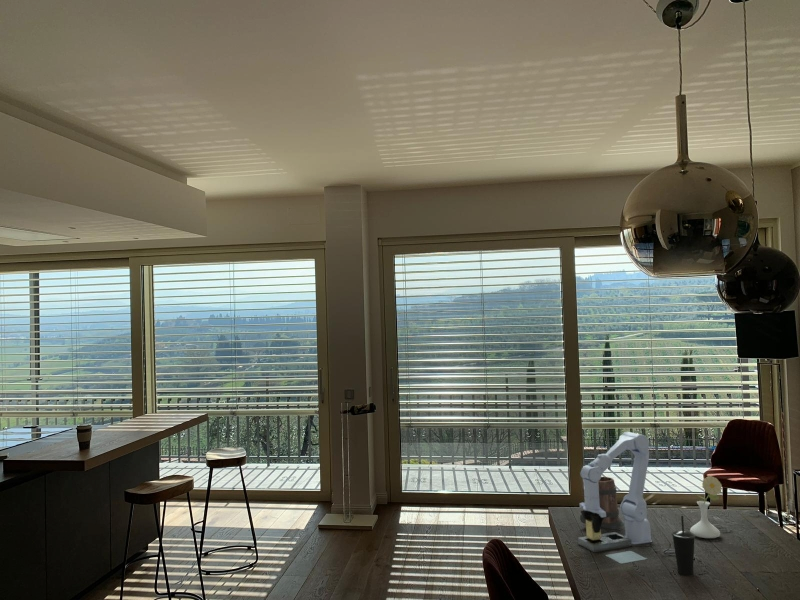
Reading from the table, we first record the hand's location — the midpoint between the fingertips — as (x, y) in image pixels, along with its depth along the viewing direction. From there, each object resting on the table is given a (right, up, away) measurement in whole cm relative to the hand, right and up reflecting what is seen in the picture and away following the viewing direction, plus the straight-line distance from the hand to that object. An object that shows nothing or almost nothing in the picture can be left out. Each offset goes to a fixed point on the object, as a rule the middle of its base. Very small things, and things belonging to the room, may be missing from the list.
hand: (593, 530), depth 234 cm
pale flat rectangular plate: (+8, -6, -12) cm, 16 cm away
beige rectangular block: (0, -3, 0) cm, 3 cm away
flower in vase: (+51, -6, +9) cm, 52 cm away
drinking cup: (+24, -5, -27) cm, 36 cm away
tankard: (+12, -9, +28) cm, 31 cm away
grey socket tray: (+5, -7, +1) cm, 8 cm away
